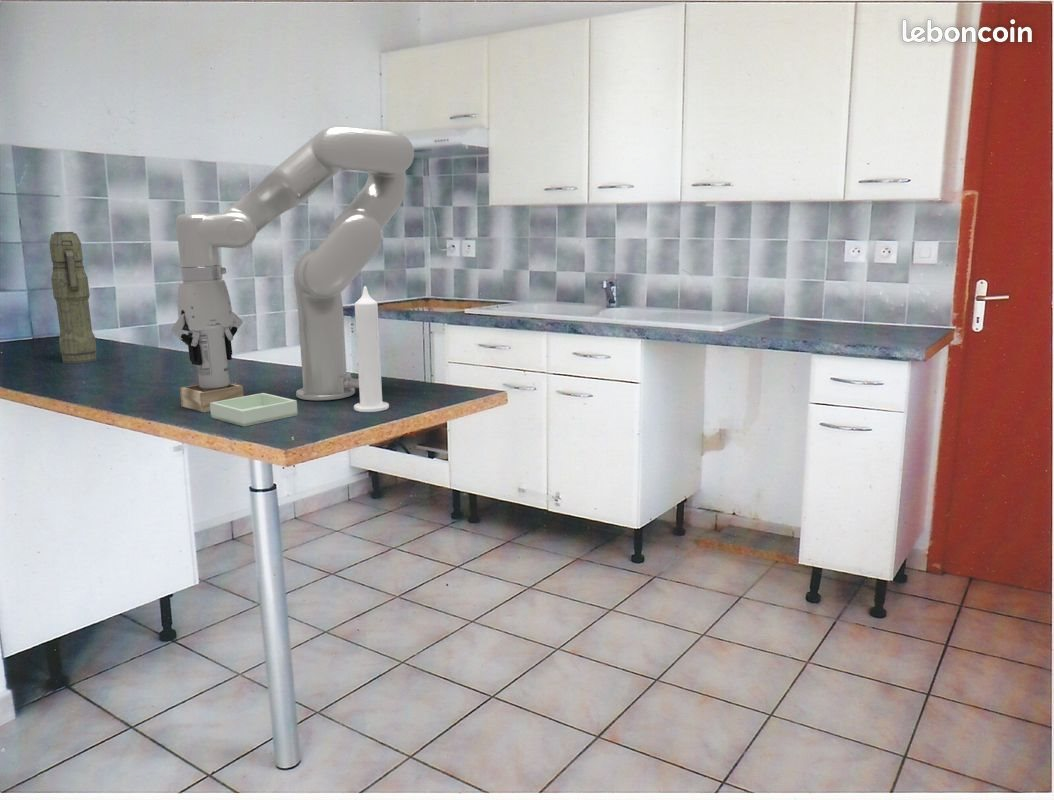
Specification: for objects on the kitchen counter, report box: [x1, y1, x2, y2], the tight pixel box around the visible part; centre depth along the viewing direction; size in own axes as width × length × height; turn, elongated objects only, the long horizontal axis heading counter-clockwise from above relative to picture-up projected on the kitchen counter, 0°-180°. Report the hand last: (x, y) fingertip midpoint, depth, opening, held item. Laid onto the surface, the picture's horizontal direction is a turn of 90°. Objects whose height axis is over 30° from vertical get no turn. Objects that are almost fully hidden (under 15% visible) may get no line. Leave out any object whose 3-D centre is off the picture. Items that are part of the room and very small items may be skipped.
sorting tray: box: [209, 392, 299, 428], centre depth 174 cm, size 12×12×3 cm
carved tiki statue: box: [49, 231, 98, 365], centre depth 239 cm, size 9×12×35 cm
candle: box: [353, 285, 390, 413], centre depth 177 cm, size 7×7×25 cm
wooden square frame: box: [179, 382, 245, 413], centre depth 184 cm, size 9×9×4 cm
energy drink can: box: [196, 319, 231, 392], centre depth 182 cm, size 6×6×15 cm
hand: (211, 361), depth 183 cm, fingers closed on energy drink can, 6 cm apart
